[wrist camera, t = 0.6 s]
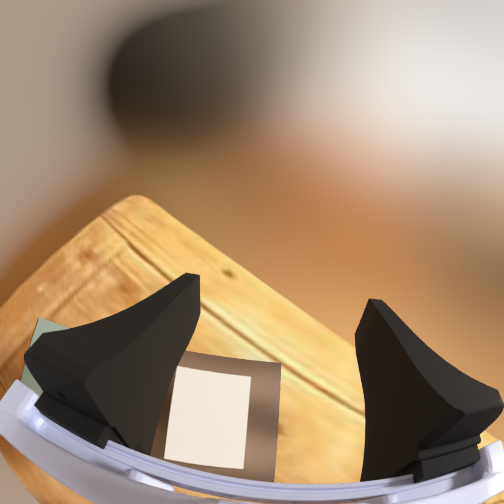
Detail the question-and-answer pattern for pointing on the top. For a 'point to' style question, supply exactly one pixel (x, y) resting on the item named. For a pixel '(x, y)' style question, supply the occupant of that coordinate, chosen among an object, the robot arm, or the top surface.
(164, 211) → the top surface
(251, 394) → the plate
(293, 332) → the top surface
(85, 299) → the top surface
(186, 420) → the plate
